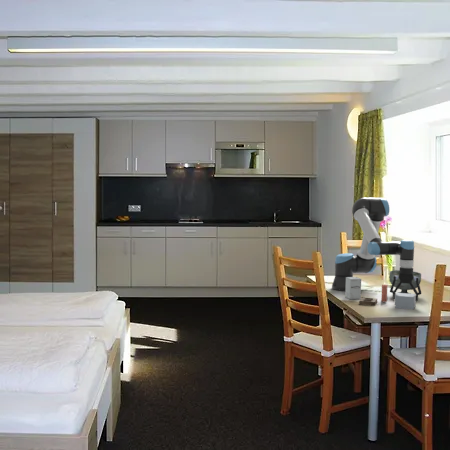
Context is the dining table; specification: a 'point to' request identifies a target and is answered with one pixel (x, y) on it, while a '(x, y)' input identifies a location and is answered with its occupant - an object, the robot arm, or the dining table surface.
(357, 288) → the supplement box
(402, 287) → the bowl
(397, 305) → the cover
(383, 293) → the peg
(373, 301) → the board
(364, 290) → the dining table surface
